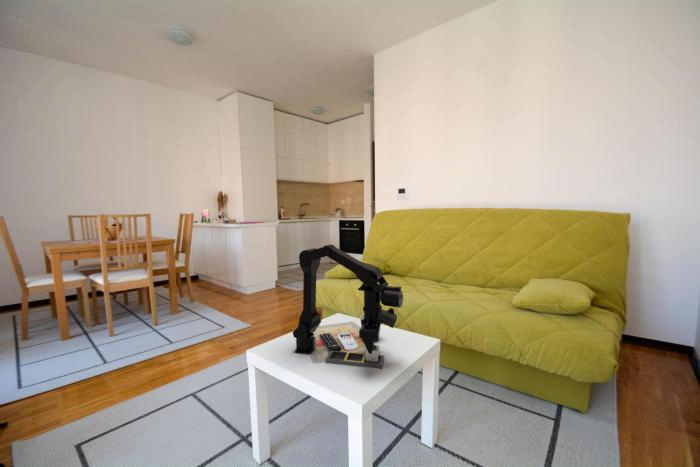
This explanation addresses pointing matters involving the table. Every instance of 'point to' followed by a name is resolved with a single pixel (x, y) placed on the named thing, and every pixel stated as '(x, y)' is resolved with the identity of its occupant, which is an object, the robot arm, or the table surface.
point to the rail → (352, 359)
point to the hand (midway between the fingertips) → (372, 347)
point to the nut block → (373, 355)
